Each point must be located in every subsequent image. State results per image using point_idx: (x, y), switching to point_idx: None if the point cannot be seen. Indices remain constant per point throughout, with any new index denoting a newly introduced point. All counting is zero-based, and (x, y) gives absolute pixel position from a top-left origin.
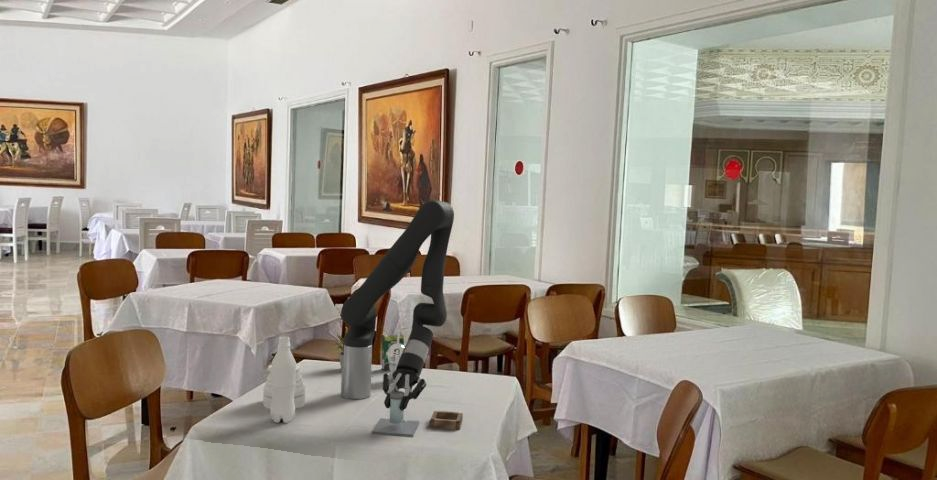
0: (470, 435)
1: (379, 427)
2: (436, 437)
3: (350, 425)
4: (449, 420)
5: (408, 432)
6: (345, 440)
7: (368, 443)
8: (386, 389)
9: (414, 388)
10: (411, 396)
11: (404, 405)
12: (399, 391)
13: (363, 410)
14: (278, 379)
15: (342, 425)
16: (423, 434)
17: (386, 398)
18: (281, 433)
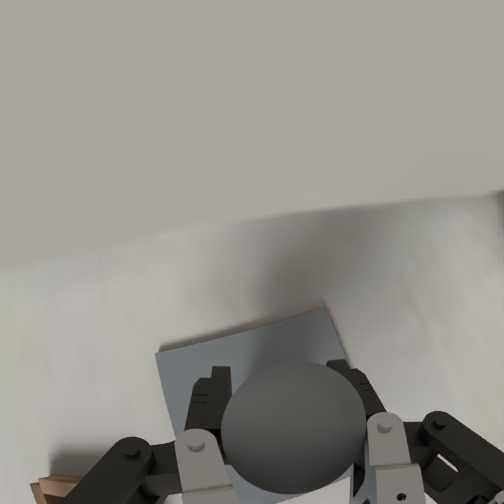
0: (9, 427)
1: (325, 363)
2: (80, 380)
3: (429, 337)
4: (58, 486)
5: (181, 369)
6: (348, 216)
7: (274, 225)
8: (423, 428)
9: (118, 495)
10: (154, 448)
11: (197, 384)
12: (304, 483)
13: None
14: None
15: (444, 321)
16: (130, 396)
17: (368, 393)
18: (471, 199)
